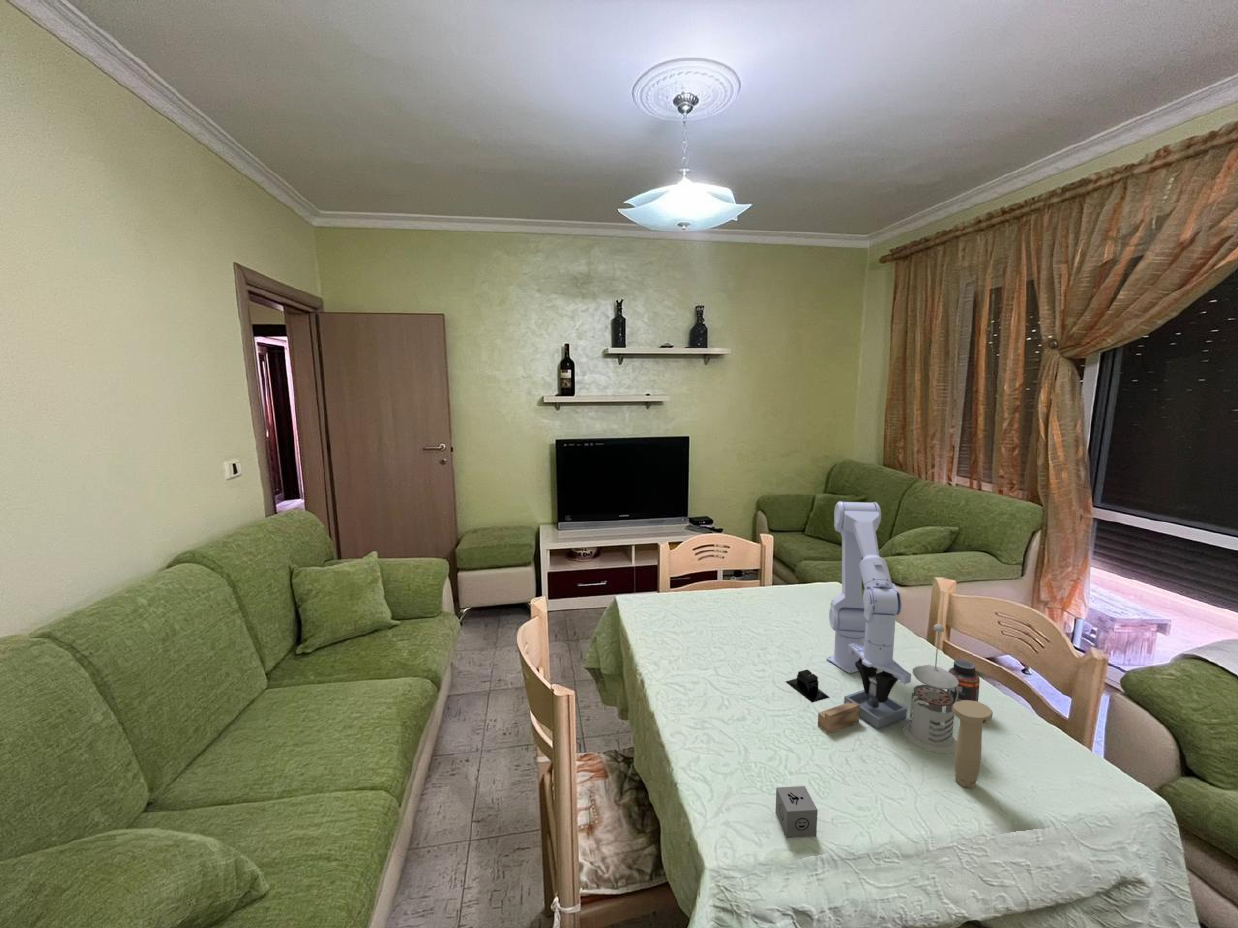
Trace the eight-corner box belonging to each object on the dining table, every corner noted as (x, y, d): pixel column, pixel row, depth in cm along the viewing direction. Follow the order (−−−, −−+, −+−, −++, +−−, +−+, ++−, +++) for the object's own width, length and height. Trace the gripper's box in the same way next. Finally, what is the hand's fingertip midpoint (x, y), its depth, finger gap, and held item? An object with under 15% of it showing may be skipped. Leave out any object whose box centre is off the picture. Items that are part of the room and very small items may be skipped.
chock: (847, 714, 113) (848, 697, 112) (859, 722, 110) (860, 704, 109) (817, 725, 109) (818, 707, 109) (828, 733, 106) (829, 715, 106)
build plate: (837, 703, 118) (838, 684, 117) (813, 710, 115) (814, 692, 115) (801, 675, 129) (801, 658, 129) (777, 681, 127) (778, 664, 126)
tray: (871, 696, 119) (872, 686, 119) (906, 718, 111) (907, 708, 111) (843, 706, 116) (844, 696, 115) (877, 730, 107) (878, 719, 107)
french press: (892, 728, 108) (900, 619, 104) (929, 714, 112) (937, 609, 109) (937, 759, 99) (947, 640, 95) (974, 742, 103) (985, 628, 100)
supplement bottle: (972, 704, 116) (976, 658, 114) (981, 720, 110) (985, 672, 108) (942, 699, 118) (946, 654, 116) (949, 715, 112) (953, 668, 110)
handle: (939, 776, 94) (946, 703, 92) (967, 770, 96) (974, 698, 94) (962, 796, 90) (970, 719, 88) (991, 789, 91) (999, 713, 89)
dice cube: (775, 813, 87) (776, 787, 86) (803, 811, 87) (804, 785, 86) (786, 838, 82) (787, 811, 81) (816, 836, 82) (817, 809, 81)
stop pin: (872, 698, 115) (875, 671, 114) (884, 707, 112) (887, 679, 111) (862, 701, 114) (865, 674, 113) (873, 710, 111) (877, 683, 110)
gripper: (839, 629, 116) (836, 683, 118) (896, 659, 103) (892, 720, 105) (861, 623, 119) (858, 676, 121) (919, 652, 105) (914, 711, 107)
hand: (875, 696), depth 113 cm, fingers closed on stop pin, 3 cm apart
